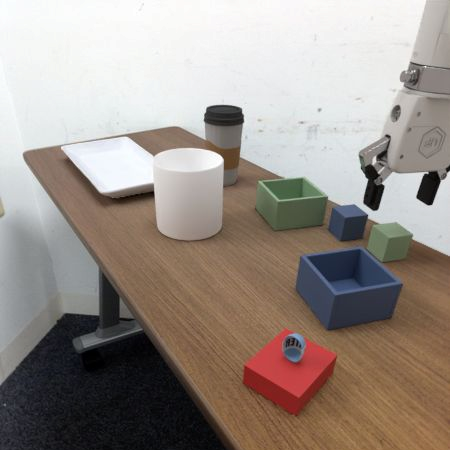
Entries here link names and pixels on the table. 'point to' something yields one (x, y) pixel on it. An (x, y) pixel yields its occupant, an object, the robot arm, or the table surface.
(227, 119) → the coffee cup
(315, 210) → the sage bin
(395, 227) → the sage block
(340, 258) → the slate bin
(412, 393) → the table surface
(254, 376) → the red rectangular block
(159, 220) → the cup
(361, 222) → the slate block
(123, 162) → the tray
